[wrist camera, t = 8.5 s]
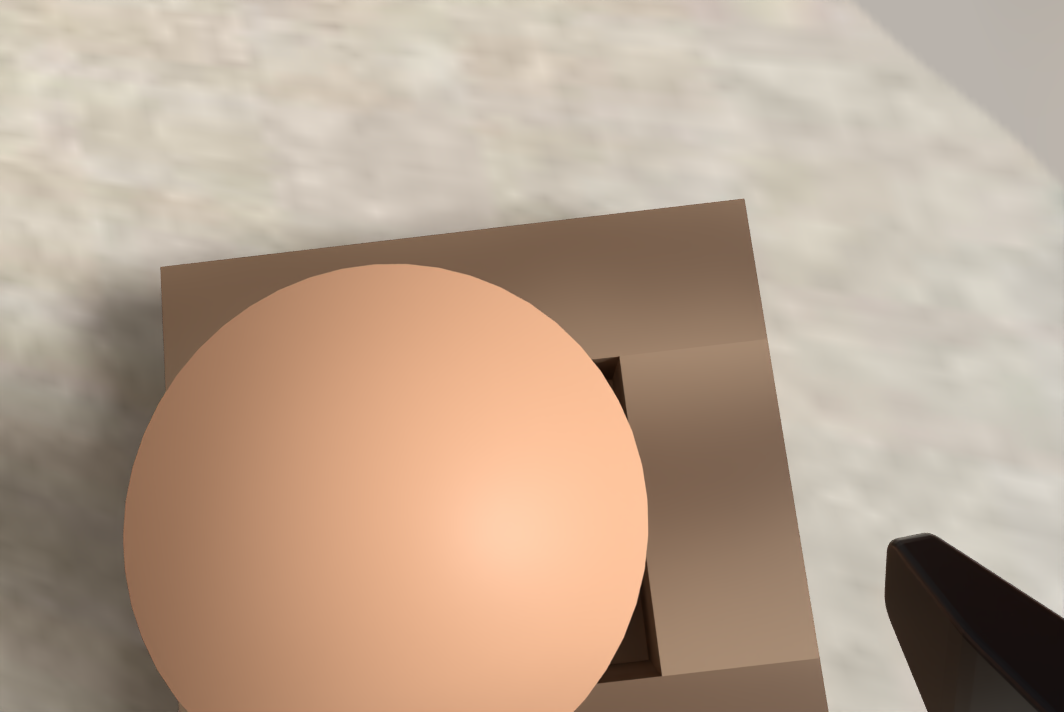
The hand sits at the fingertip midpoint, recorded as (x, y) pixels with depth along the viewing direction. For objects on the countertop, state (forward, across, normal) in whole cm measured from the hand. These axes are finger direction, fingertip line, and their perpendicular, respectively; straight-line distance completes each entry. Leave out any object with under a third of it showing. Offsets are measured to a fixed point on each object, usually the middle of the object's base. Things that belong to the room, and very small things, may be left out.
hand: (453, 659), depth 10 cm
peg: (+8, 0, +6) cm, 10 cm away
